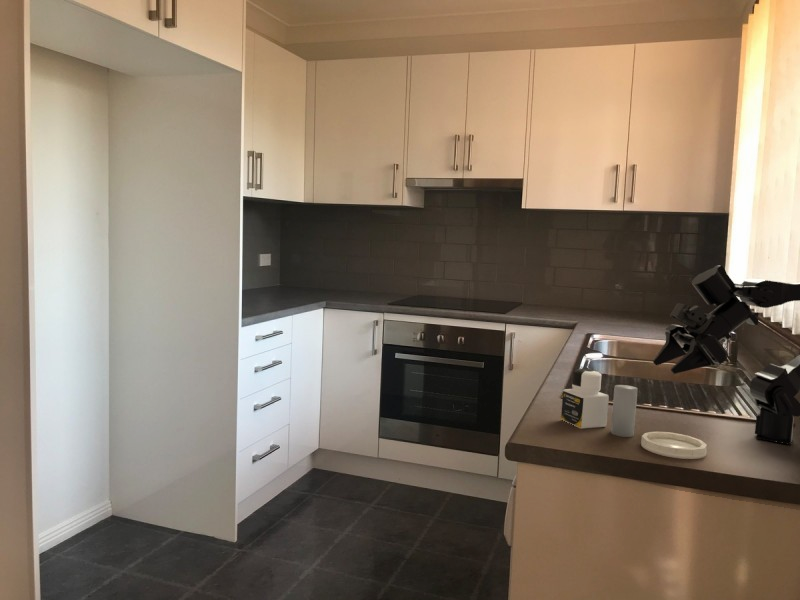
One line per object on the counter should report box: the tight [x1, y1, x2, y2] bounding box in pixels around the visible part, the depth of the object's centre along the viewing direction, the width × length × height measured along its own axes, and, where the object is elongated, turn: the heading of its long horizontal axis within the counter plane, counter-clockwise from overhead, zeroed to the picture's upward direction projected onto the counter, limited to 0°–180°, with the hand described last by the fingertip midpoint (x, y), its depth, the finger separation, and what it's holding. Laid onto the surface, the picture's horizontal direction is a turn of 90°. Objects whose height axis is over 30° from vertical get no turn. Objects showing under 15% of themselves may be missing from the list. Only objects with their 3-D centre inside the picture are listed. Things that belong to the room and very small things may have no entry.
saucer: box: [640, 431, 708, 460], centre depth 133 cm, size 12×12×2 cm
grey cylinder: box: [610, 384, 638, 438], centre depth 142 cm, size 5×5×10 cm
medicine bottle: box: [560, 368, 610, 429], centre depth 148 cm, size 7×7×12 cm
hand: (663, 367), depth 143 cm, fingers open, 9 cm apart
